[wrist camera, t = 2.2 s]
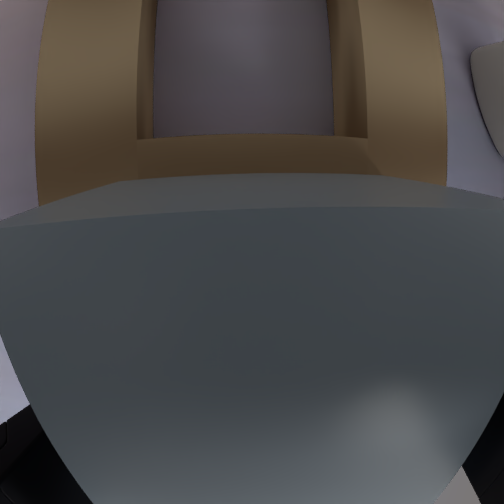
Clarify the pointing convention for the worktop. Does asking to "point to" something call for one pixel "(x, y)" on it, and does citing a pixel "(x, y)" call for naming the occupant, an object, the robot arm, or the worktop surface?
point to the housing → (259, 335)
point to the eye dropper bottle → (490, 88)
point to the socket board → (235, 145)
